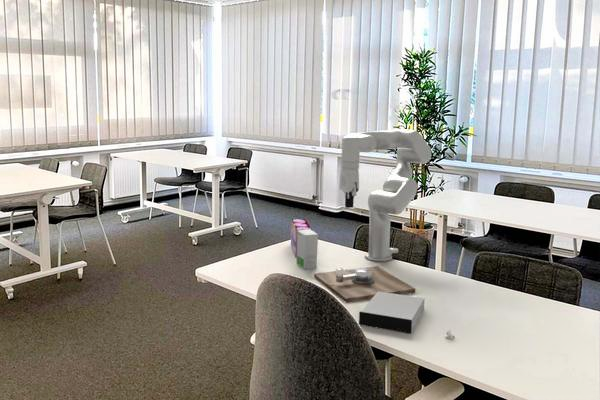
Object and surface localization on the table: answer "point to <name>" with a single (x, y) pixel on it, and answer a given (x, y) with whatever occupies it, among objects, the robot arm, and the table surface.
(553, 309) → the table surface
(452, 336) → the adhesive hook
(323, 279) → the mounting board
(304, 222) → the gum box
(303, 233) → the skincare box
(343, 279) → the lock lever
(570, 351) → the table surface
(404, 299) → the disc drive
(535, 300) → the table surface
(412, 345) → the table surface
